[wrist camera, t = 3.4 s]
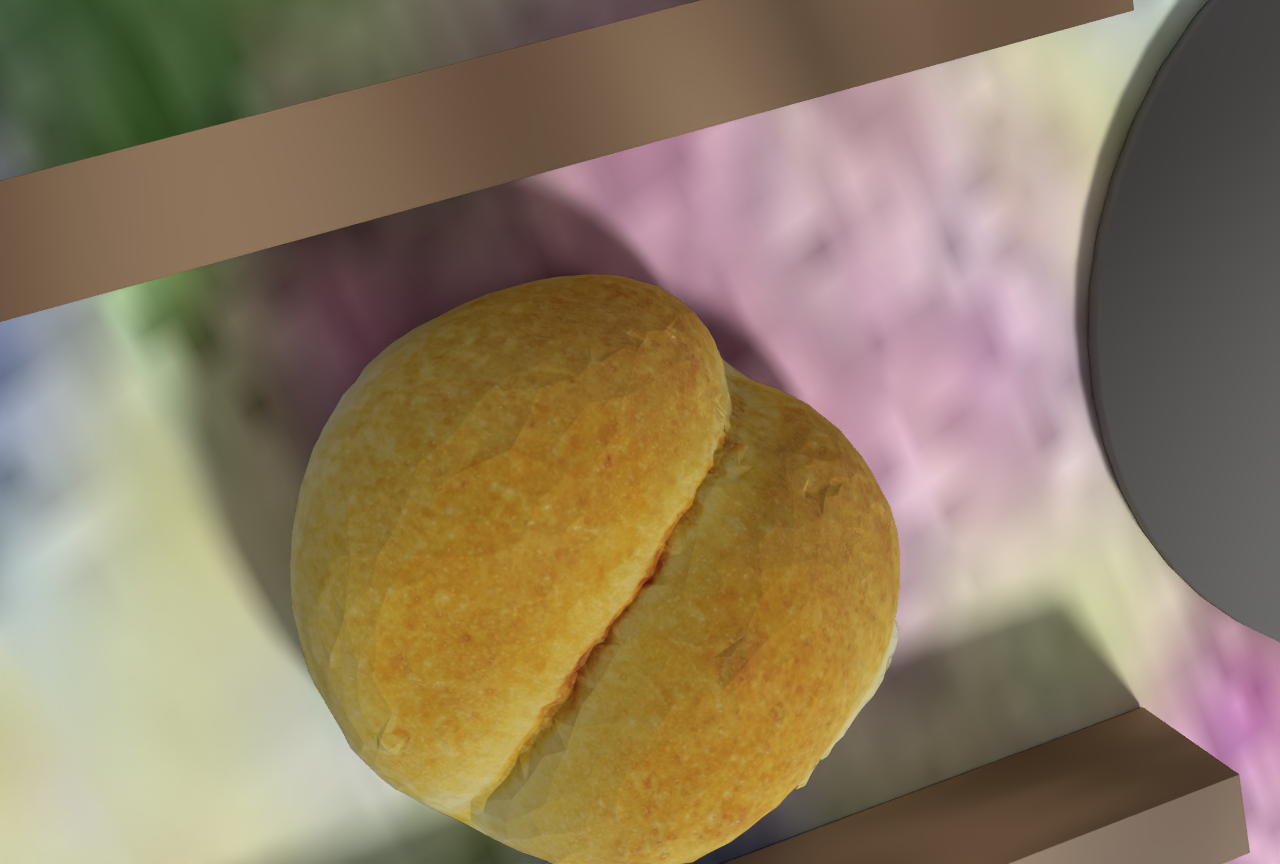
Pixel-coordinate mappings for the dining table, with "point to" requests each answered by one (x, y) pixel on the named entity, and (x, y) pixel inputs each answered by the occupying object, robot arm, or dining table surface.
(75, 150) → the dining table surface
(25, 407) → the dining table surface
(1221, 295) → the mat
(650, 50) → the chute
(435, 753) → the bread roll
